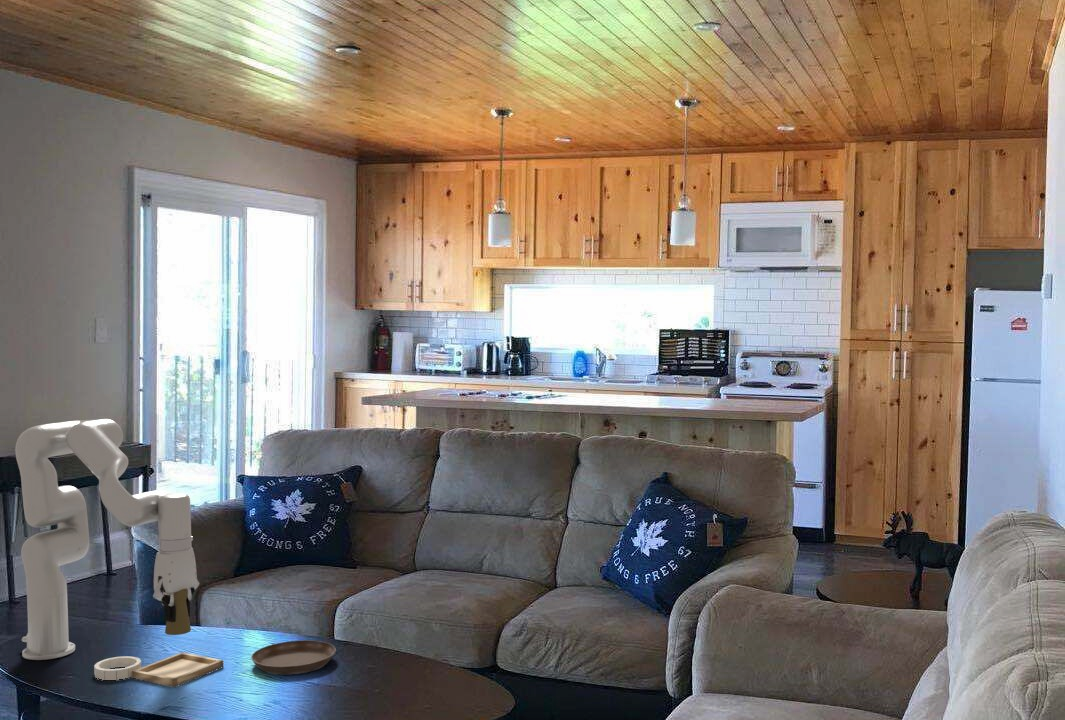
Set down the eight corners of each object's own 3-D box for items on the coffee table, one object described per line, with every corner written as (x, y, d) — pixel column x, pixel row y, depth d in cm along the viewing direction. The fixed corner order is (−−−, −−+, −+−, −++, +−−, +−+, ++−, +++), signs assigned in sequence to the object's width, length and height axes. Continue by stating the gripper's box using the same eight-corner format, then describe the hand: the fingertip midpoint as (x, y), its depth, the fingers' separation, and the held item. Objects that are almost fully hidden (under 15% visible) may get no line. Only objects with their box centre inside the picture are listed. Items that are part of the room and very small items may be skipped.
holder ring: (85, 676, 264) (85, 666, 264) (120, 663, 273) (120, 654, 273) (115, 683, 259) (115, 673, 259) (150, 670, 268) (150, 660, 268)
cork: (182, 635, 262) (181, 590, 261) (160, 634, 263) (158, 589, 263) (195, 628, 268) (194, 584, 267) (173, 627, 269) (171, 583, 268)
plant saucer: (234, 673, 266) (233, 659, 266) (283, 648, 285) (283, 635, 285) (305, 683, 259) (305, 669, 258) (351, 657, 278) (351, 644, 277)
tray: (132, 678, 262) (132, 671, 262) (182, 659, 276) (182, 652, 276) (174, 687, 256) (174, 679, 256) (223, 667, 270) (223, 660, 270)
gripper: (189, 536, 274) (191, 608, 274) (137, 550, 259) (139, 626, 260) (211, 539, 270) (213, 612, 271) (159, 553, 255) (162, 630, 256)
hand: (177, 618), depth 265 cm, fingers closed on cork, 3 cm apart
